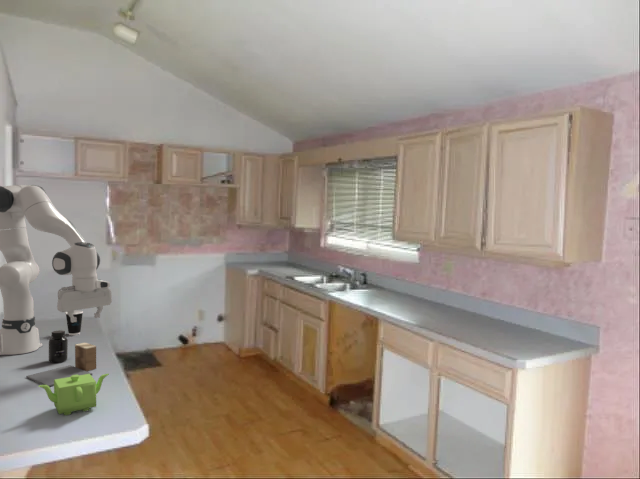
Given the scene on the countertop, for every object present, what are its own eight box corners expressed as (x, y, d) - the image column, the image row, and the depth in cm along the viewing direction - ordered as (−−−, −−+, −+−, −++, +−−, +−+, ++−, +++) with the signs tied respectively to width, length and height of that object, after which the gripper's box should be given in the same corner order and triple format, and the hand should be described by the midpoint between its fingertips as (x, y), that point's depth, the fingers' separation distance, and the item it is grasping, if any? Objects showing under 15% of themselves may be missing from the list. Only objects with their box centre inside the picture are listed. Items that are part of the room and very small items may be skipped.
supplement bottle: (59, 363, 193) (59, 334, 193) (44, 362, 195) (44, 333, 194) (71, 358, 200) (71, 330, 199) (57, 357, 201) (56, 329, 201)
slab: (75, 367, 190) (75, 344, 189) (85, 364, 193) (84, 342, 193) (86, 371, 185) (86, 348, 185) (96, 368, 189) (96, 345, 188)
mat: (26, 377, 177) (26, 375, 177) (70, 366, 190) (69, 365, 190) (48, 387, 168) (48, 385, 168) (92, 375, 181) (92, 373, 181)
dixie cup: (73, 331, 244) (72, 310, 243) (86, 332, 242) (86, 311, 242) (61, 335, 236) (61, 313, 236) (75, 336, 235) (75, 314, 234)
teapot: (37, 417, 144) (37, 381, 144) (64, 399, 158) (64, 367, 157) (87, 419, 143) (86, 384, 143) (109, 402, 157) (109, 369, 156)
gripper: (62, 288, 177) (62, 326, 178) (113, 282, 194) (114, 316, 195) (53, 287, 181) (54, 323, 182) (104, 280, 197) (105, 314, 198)
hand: (85, 319), depth 188 cm, fingers open, 8 cm apart
